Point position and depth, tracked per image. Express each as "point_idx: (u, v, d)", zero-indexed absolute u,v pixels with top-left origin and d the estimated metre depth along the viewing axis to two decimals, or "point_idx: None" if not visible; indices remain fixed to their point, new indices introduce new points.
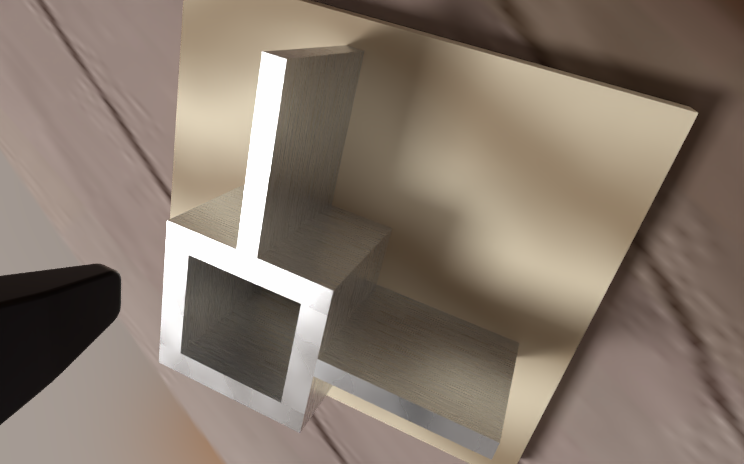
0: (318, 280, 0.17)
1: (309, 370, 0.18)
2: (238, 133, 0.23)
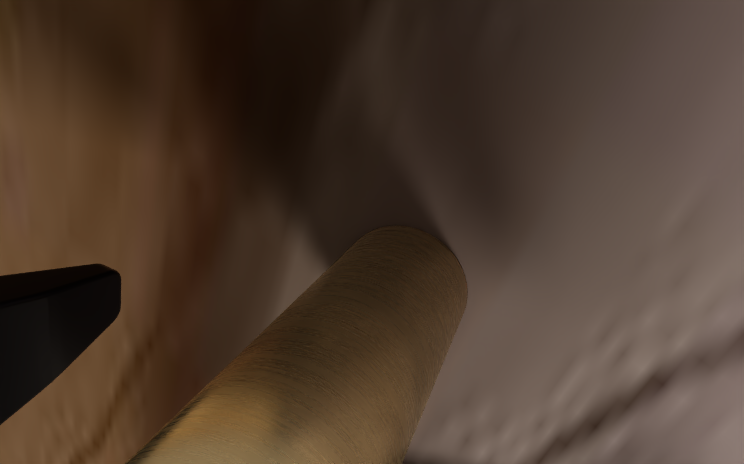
0: None
1: None
2: None
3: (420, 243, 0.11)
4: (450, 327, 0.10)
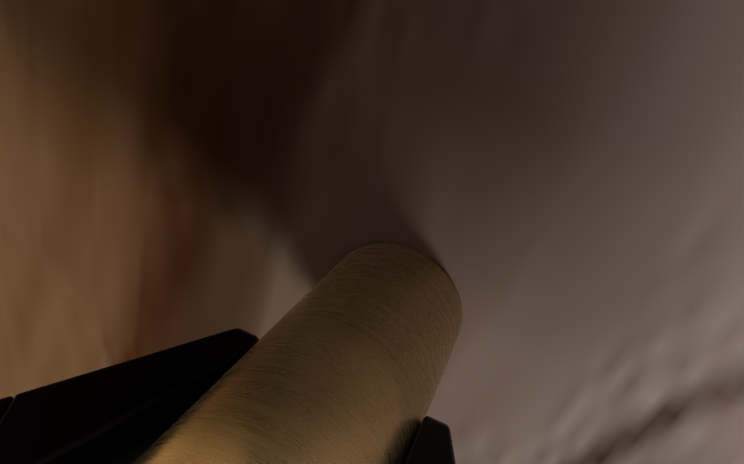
0: None
1: None
2: None
3: (410, 262, 0.10)
4: (442, 357, 0.09)
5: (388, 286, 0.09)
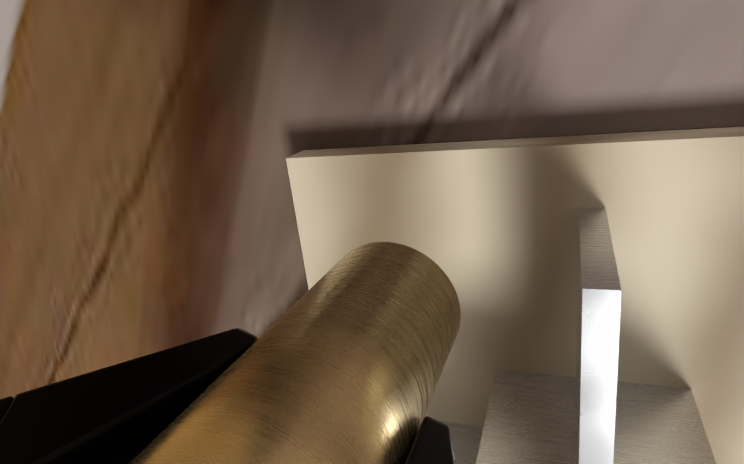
0: None
1: None
2: None
3: (409, 262, 0.10)
4: (440, 356, 0.09)
5: (387, 285, 0.09)
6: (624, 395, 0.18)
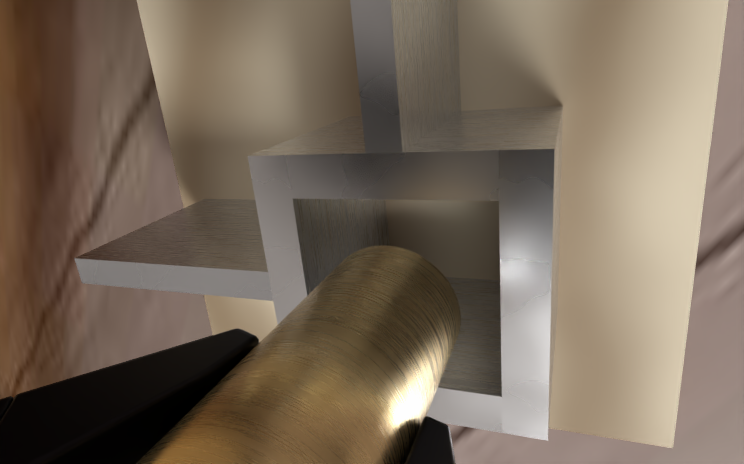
0: None
1: (394, 161, 0.11)
2: None
3: (409, 266, 0.10)
4: (440, 360, 0.09)
5: (387, 290, 0.09)
6: (482, 112, 0.15)
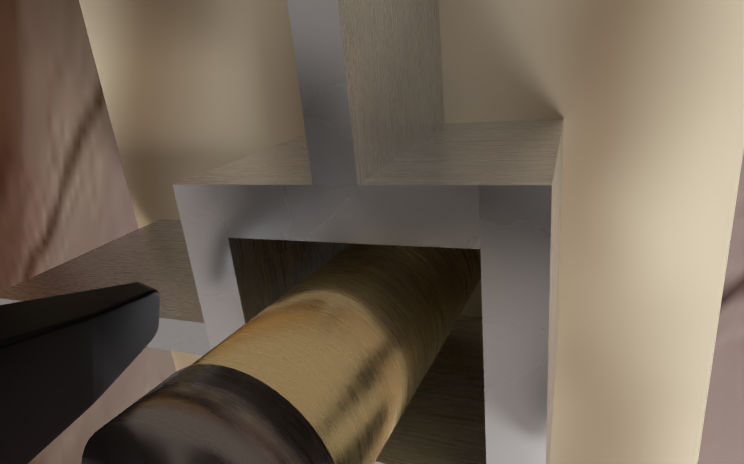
0: None
1: (347, 195, 0.08)
2: None
3: None
4: (476, 270, 0.12)
5: None
6: (468, 127, 0.12)
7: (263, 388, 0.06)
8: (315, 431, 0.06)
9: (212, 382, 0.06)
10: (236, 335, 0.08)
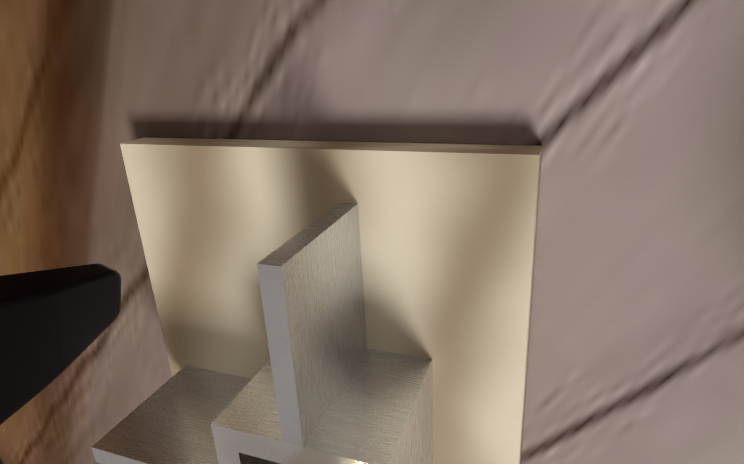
0: None
1: (298, 450, 0.17)
2: None
3: None
4: None
5: None
6: (377, 361, 0.21)
7: None
8: None
9: None
10: None
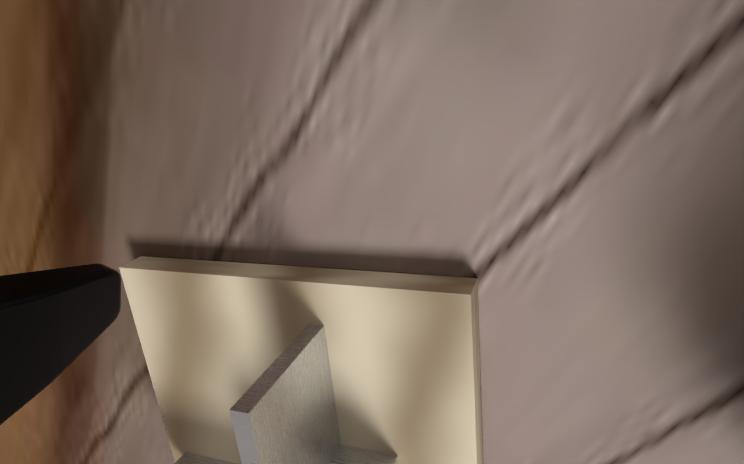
0: None
1: None
2: None
3: None
4: None
5: None
6: (349, 458, 0.24)
7: None
8: None
9: None
10: None
